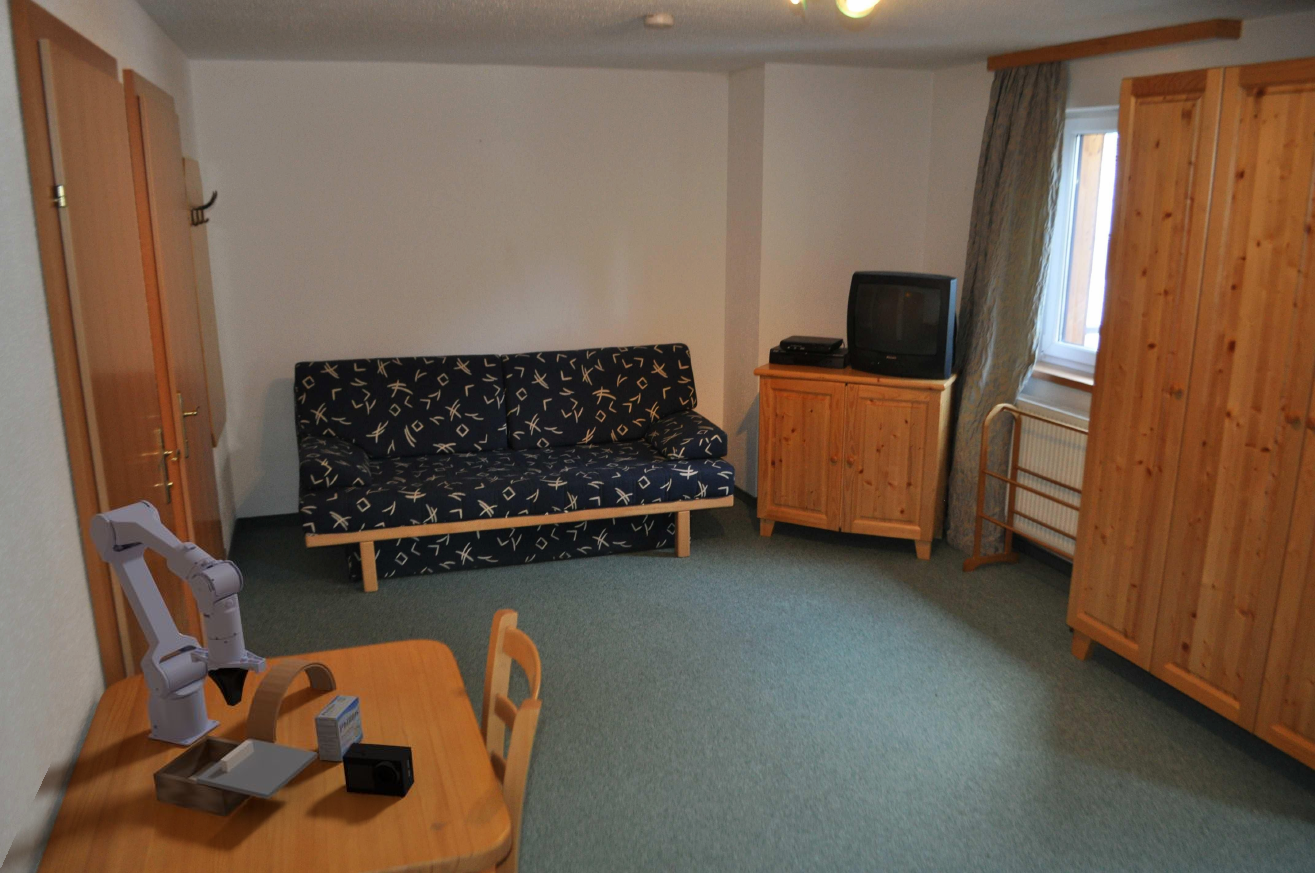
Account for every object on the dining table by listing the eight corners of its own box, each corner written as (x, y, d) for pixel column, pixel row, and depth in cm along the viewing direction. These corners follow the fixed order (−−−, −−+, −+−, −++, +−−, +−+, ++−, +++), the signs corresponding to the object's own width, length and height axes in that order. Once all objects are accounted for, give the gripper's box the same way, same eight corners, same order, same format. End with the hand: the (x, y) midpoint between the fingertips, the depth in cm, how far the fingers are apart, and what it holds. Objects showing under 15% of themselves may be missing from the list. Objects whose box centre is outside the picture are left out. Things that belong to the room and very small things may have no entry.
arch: (246, 739, 178) (239, 690, 176) (312, 685, 197) (307, 640, 194) (273, 743, 177) (267, 694, 174) (337, 689, 195) (332, 643, 192)
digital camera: (342, 797, 161) (338, 760, 159) (356, 777, 166) (352, 741, 164) (401, 802, 159) (398, 764, 158) (414, 782, 165) (411, 745, 163)
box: (157, 800, 161) (152, 774, 159) (211, 760, 172) (207, 735, 170) (225, 816, 156) (221, 789, 155) (276, 774, 167) (273, 748, 166)
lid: (197, 782, 156) (194, 767, 156) (249, 742, 167) (247, 728, 167) (268, 798, 152) (266, 783, 151) (317, 756, 163) (315, 741, 162)
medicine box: (342, 762, 170) (337, 719, 168) (318, 760, 171) (313, 716, 169) (363, 738, 178) (359, 695, 175) (341, 735, 179) (336, 693, 176)
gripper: (172, 636, 165) (184, 707, 169) (241, 648, 161) (252, 721, 164) (203, 619, 172) (214, 688, 175) (270, 629, 167) (280, 700, 171)
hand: (234, 702), depth 170 cm, fingers closed
